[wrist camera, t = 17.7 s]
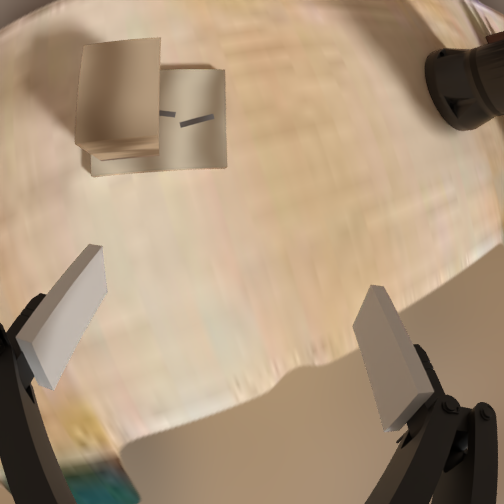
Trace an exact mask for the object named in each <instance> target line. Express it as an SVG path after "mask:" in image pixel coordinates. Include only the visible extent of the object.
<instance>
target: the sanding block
mask: <svg viewBox="0 0 504 504" xmlns="http://www.w3.org/2000/svg"><path fill="white" fill-rule="evenodd" d="M160 48H161V38H143V39H131V40H121V41H112V42H104V43H97V44H91V45H84V46H83V53H82V60H81V67H80V75H79V85H78V95H77V108H76V125H75V144H76V145H77V146H79V147H80V148H82V149H83V150H85V151H86V152H88V153H90V154H91V155H93V156H94V157H96V158H97V159H99V160H100V161H108V160H117V159H128V158H139V157H152V156H160V155H159V100H160Z"/></svg>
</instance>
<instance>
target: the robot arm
mask: <svg viewBox="0 0 504 504" xmlns="http://www.w3.org/2000/svg"><path fill="white" fill-rule="evenodd" d="M425 74H426V80H427V85H428V88H429V91H430V94H431V97H432V99H433V101H434V103H435V105H436V107H437V109H438V111H439V112H440V114H441V115H442V116H443V118H444V119H445V120H446V121H447V122H448V123H449V124H450V125H451V126H452V127H453V128H455V129H457V130H460V131H467V130H473V129H476V128H478V127H479V126H481V125H483V124H484V123H486V122H488V121H489V120H491V119H492V118H494V117H496V116H501V115H504V39H503V40H500V41H496V42H493V43H490V44H487V45H483V46H480V47H477V48H474V49H449V48H444V49H440V50H437V51H435V52H432V53H431V54H430V55H429V56H428V58H427V60H426V65H425ZM107 292H108V291H107V283H106V275H105V266H104V256H103V246H98V245H92V244H89V245H88V246H87V247H86V248H85V249H84V250H83V252H82V253H81V254H80V255H79V256H78V257H77V258H76V260H75V261H74V262H73V263H72V264H71V265H70V267H69V268H68V269H67V270H66V271H65V273H64V274H63V275H62V276H61V278H60V279H59V280H58V281H57V282H56V284H55V285H54V286H53V287H52V289H51V290H50V291H49V293H48V294H47V295H46V294H42V293H40V294H39V295H37V296H36V297H34V298H33V299H31V301H30V302H29V303H28V304H27V306H26V307H25V309H23V311H22V312H21V315H19V316H18V317H17V319H16V320H15V321H14V323H13V324H12V325H11V327H10V328H9V330H8V331H7V332H5V330H4V328H3V325H2V324H1V323H0V458H1V462H2V465H3V469H4V472H5V475H6V478H7V481H8V484H9V487H10V490H11V493H12V496H13V498H14V501H15V504H77V503H76V501H75V499H74V497H73V495H72V493H71V491H70V489H69V487H68V484H67V482H66V480H65V478H64V476H63V473H62V471H61V469H60V466H59V464H58V462H57V459H56V457H55V454H54V452H53V449H52V446H51V444H50V441H49V438H48V435H47V433H46V430H45V427H44V424H43V421H42V417H41V414H40V411H39V408H38V404H37V401H36V397H35V394H34V390H33V387H32V385H31V381H32V379H33V377H35V379H36V381H37V383H38V384H39V385H40V386H43V387H45V388H48V389H51V390H53V391H54V389H55V387H56V385H57V383H58V381H59V379H60V377H61V375H62V373H63V371H64V369H65V367H66V365H67V363H68V361H69V359H70V357H71V356H72V354H73V352H74V350H75V348H76V346H77V344H78V343H79V341H80V339H81V337H82V335H83V333H84V332H85V330H86V328H87V326H88V325H89V323H90V321H91V319H92V318H93V316H94V314H95V312H96V311H97V309H98V307H99V306H100V304H101V302H102V300H103V299H104V297H105V295H106V294H107ZM353 329H354V332H355V335H356V338H357V341H358V344H359V348H360V351H361V354H362V357H363V360H364V364H365V367H366V370H367V373H368V377H369V380H370V383H371V387H372V390H373V394H374V397H375V401H376V404H377V408H378V412H379V415H380V419H381V423H382V426H383V430H384V432H389V431H397V430H400V429H401V428H402V427H403V426H404V425H405V424H406V423H407V426H408V430H407V431H406V433H404V434H403V435H402V436H401V437H400V438H399V439H398V440H397V442H396V443H399V442H400V441H401V442H400V444H399V446H398V448H397V450H396V452H395V454H394V456H393V457H392V459H391V461H390V463H389V465H388V466H387V468H386V470H385V472H384V473H383V475H382V477H381V478H380V480H379V482H378V483H377V485H376V487H375V488H374V490H373V491H372V493H371V495H370V496H369V498H368V499H367V501H366V502H365V504H429V502H430V500H431V497H432V495H433V498H432V503H431V504H496V495H497V477H498V440H497V423H496V422H497V421H496V414H495V411H494V410H493V408H492V407H491V406H490V405H489V404H487V403H484V402H480V403H478V404H477V405H476V406H475V407H474V408H473V409H470V408H465V407H460V404H459V403H458V401H457V400H456V399H454V398H453V397H452V396H449V395H445V393H444V391H443V389H442V386H441V384H440V382H439V379H438V377H437V375H436V373H435V371H434V370H433V366H432V364H431V363H430V360H429V358H428V356H427V354H426V352H425V351H424V350H423V349H422V348H421V347H420V345H418V344H413V343H412V341H411V339H410V337H409V335H408V333H407V331H406V329H405V327H404V325H403V323H402V321H401V319H400V317H399V315H398V313H397V311H396V309H395V307H394V305H393V303H392V301H391V299H390V297H389V295H388V293H387V292H386V290H385V288H384V286H376V285H370V288H369V290H368V292H367V295H366V297H365V299H364V302H363V304H362V306H361V308H360V311H359V313H358V315H357V317H356V319H355V322H354V324H353ZM467 448H468V449H467Z"/></svg>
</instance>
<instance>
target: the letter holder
mask: <svg viewBox="0 0 504 504" xmlns="http://www.w3.org/2000/svg"><path fill="white" fill-rule="evenodd" d="M486 39H487V41H488V44H490V43H493V42H496V41H500V40H503V39H504V31H503V32H499V33H496V34H492V35H489V36H486Z"/></svg>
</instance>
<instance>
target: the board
mask: <svg viewBox="0 0 504 504" xmlns="http://www.w3.org/2000/svg"><path fill="white" fill-rule="evenodd" d="M159 155H160V156H152V157H139V158H128V159H117V160H108V161H100V160H99V159H97V158H96V157H94V156H93V155H91V176H92V177H100V176H110V175H120V174H132V173H144V172H158V171H175V170H196V169H225V168H227V140H226V95H225V70H217V69H171V70H160V100H159Z"/></svg>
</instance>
